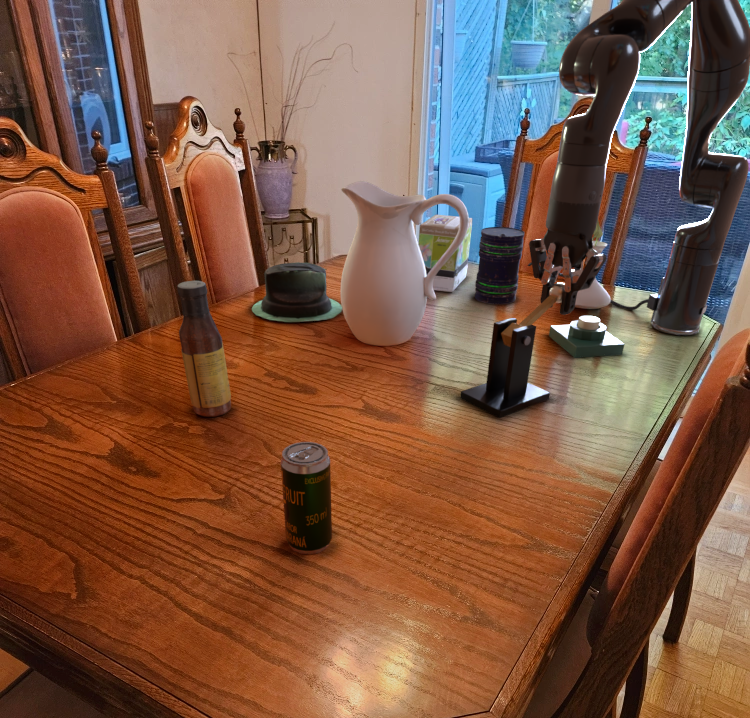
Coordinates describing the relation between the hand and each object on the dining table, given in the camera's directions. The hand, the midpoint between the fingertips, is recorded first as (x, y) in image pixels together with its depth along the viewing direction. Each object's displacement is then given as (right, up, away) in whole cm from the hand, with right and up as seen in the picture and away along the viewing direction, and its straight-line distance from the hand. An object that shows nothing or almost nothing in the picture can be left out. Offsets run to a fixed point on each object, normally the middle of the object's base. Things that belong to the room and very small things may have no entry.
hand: (555, 310), depth 109 cm
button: (+12, +3, +22) cm, 25 cm away
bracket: (-8, -14, +2) cm, 17 cm away
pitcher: (-25, +1, +25) cm, 35 cm away
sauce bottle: (-56, -17, -3) cm, 58 cm away
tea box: (-13, +23, +58) cm, 64 cm away
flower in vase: (+18, +13, +45) cm, 50 cm away
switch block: (+12, 0, +24) cm, 27 cm away
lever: (-3, -2, -1) cm, 4 cm away
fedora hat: (-47, +11, +39) cm, 62 cm away
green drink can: (-37, -36, -31) cm, 60 cm away
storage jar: (-1, +17, +49) cm, 51 cm away
